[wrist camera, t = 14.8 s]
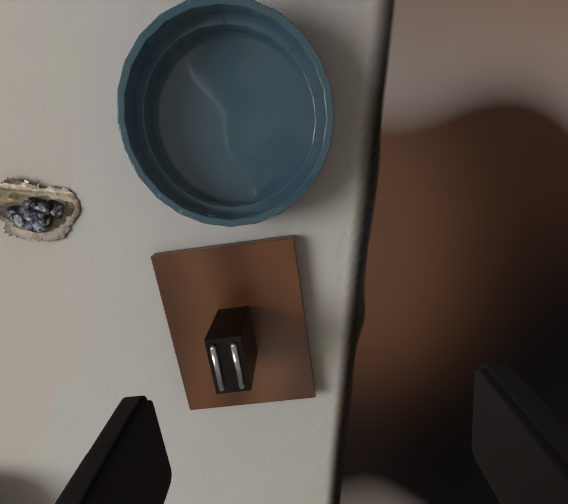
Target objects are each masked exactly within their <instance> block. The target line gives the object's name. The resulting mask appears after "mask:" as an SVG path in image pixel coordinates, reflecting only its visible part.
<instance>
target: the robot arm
mask: <svg viewBox="0 0 568 504" xmlns="http://www.w3.org/2000/svg"><path fill="white" fill-rule="evenodd" d="M472 449H473V453H474V456H475V459H476V461H477V463H478V464H479V466H480V468H481V470H482V471H483V473H484V475H485V477H486V478H487V480H488V482H489V484H490V485H491V487H492V489H493V491H494V492H495V494H496V496H497V498H498V499H499V501H500V503H501V504H568V424H567V423H566V422H565V421H564V420H563V419H562V418H561V417H560V416H559V415H557V414H556V413H555V412H553V411H551V410H550V409H549V408H548V407H547V406H546V405H545V404H544V403H543V402H542V401H541V400H540V399H539V397H538V396H537V395H536V394H535V393H534V392H533V391H532V390H531V389H530V388H529V387H528V386H527V385H526V384H525V383H524V382H523V381H522V380H521V378H520V377H518V375H517V374H516V373H515V372H514V371H513V370H512V369H511V368H510V367H509V366H508V365H507V364H506V363H494V364H484V365H482V366H481V369H480V370H477V371H476V372H475V385H474V409H473V433H472ZM171 476H172V474H171V467H170V464H169V460H168V456H167V453H166V449H165V445H164V442H163V438H162V434H161V431H160V427H159V423H158V420H157V416H156V412H155V409H154V405H153V402H152V401H151V400H147V398H146V397H145V396H134V397H125V398H123V399H122V400H121V402H120V403H119V405H118V407H117V408H116V410H115V411H114V413H113V414H112V416H111V418H110V419H109V421H108V422H107V424H106V425H105V427H104V429H103V430H102V432H101V433H100V435H99V436H98V438H97V440H96V441H95V443H94V444H93V446H92V447H91V449H90V450H89V452H88V453H87V455H86V456H85V457H84V459H83V460H82V462H81V464H80V465H79V467H78V468H77V470H76V471H75V473H74V474H73V476H72V478H71V479H70V481H69V482H68V484H67V485H66V487H65V489H64V490H63V492H62V493H61V495H60V496H59V498H58V499H57V501H56V503H55V504H164V501H165V498H166V495H167V492H168V490H169V487H170V483H171Z"/></svg>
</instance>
